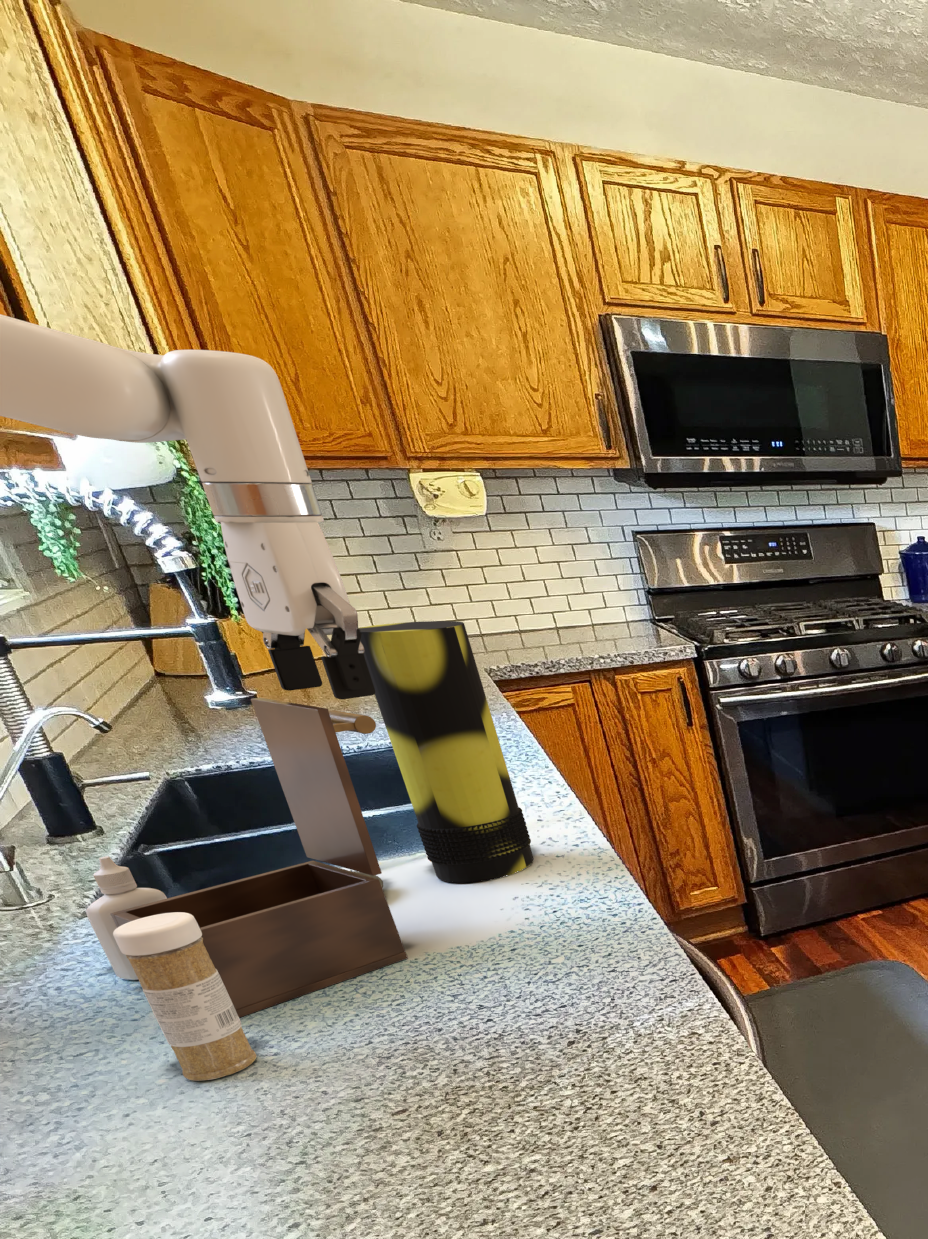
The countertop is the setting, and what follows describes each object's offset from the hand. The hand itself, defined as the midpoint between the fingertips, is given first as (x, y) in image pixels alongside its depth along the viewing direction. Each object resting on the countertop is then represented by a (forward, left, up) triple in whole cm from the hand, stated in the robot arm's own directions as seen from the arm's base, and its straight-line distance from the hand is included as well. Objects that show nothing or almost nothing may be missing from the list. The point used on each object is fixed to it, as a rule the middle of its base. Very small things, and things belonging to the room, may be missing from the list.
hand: (329, 692), depth 97 cm
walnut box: (-12, 0, -26) cm, 29 cm away
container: (+15, +14, -26) cm, 33 cm away
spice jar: (-23, -16, -26) cm, 38 cm away
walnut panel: (-4, 0, -9) cm, 10 cm away
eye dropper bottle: (-16, +14, -26) cm, 34 cm away
